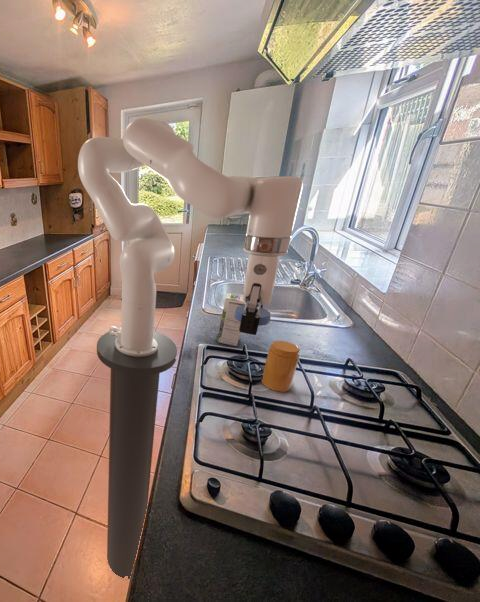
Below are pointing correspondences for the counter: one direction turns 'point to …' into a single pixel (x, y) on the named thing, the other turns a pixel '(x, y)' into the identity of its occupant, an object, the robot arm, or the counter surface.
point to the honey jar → (280, 366)
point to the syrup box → (230, 320)
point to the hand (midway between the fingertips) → (249, 325)
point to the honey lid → (263, 315)
